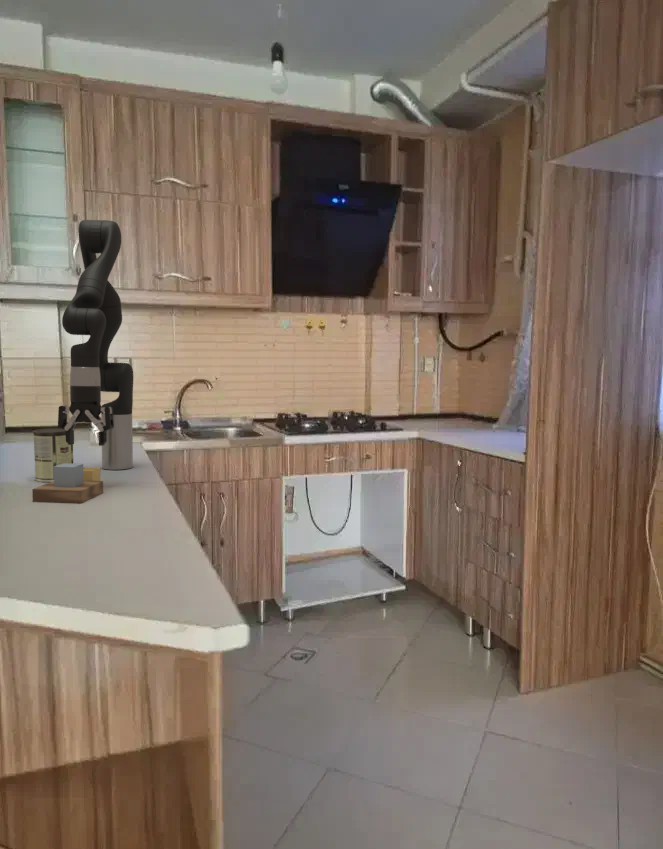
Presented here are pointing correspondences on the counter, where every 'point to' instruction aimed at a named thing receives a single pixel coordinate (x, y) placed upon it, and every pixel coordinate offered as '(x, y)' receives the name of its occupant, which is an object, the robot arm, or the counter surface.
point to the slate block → (68, 475)
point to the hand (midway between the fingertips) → (86, 444)
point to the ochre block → (91, 474)
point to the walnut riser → (67, 492)
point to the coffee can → (50, 452)
